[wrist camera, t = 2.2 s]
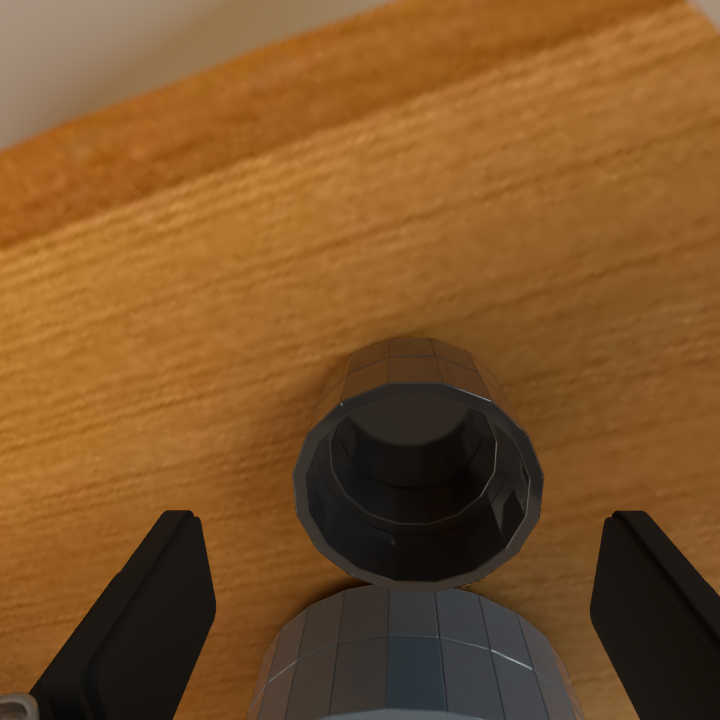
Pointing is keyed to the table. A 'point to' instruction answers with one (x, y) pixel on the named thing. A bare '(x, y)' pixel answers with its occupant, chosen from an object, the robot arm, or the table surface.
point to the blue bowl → (411, 662)
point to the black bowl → (416, 469)
